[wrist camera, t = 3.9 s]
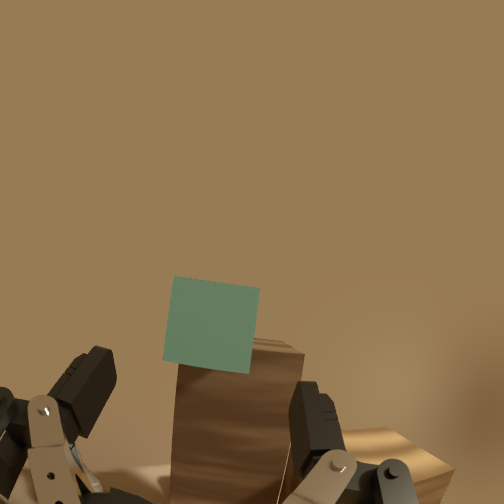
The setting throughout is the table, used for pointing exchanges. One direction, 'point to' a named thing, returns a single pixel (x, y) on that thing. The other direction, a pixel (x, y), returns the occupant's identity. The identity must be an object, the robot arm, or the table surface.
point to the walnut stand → (234, 428)
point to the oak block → (382, 448)
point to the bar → (211, 324)
